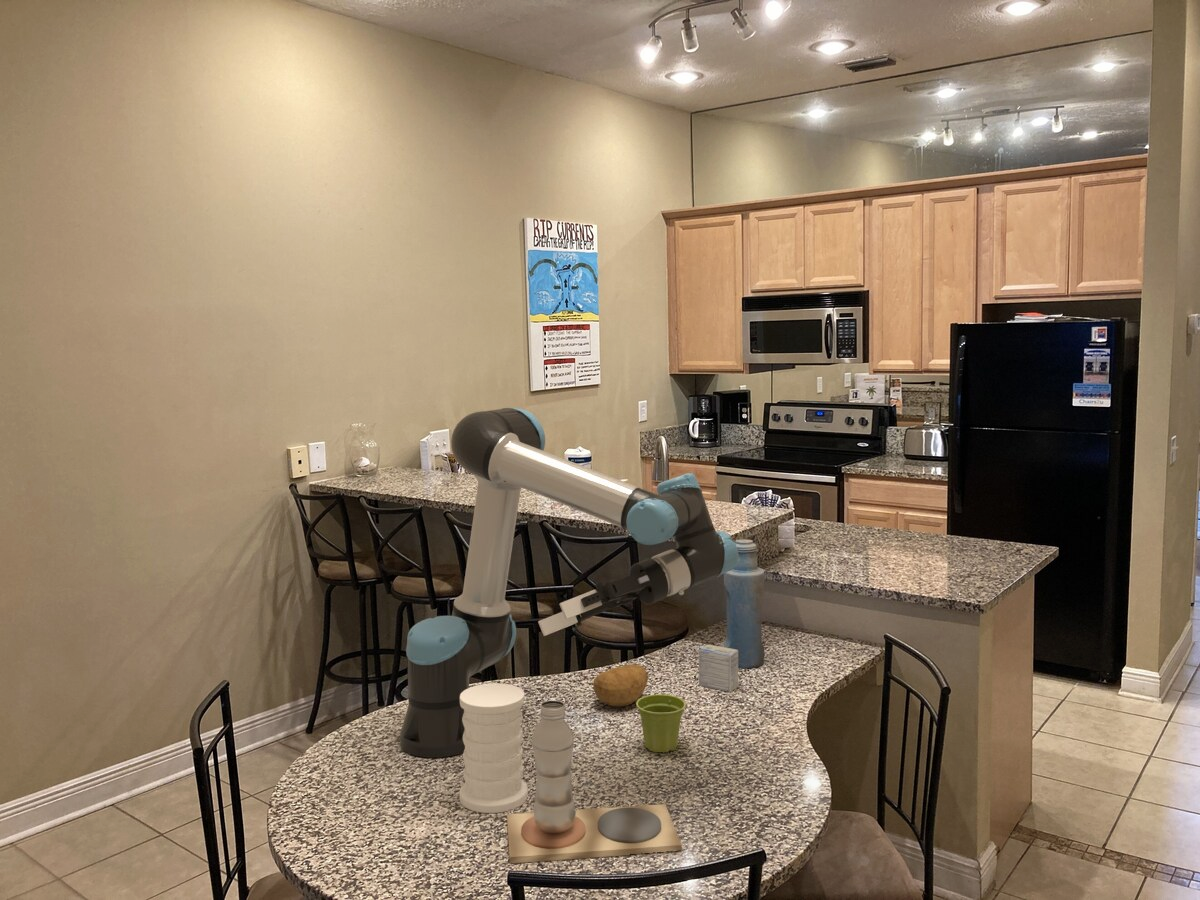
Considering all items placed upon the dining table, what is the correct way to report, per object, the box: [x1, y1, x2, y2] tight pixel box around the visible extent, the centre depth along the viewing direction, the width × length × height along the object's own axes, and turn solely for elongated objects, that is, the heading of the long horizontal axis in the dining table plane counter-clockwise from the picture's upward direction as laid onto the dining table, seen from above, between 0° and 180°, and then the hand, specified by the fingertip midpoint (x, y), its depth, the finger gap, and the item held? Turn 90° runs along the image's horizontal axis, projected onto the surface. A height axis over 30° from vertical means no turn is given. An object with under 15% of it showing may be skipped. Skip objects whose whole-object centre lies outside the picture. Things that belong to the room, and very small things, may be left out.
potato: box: [592, 663, 649, 707], centre depth 203 cm, size 10×14×8 cm
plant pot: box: [635, 693, 687, 754], centre depth 181 cm, size 9×9×9 cm
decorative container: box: [459, 682, 529, 814], centre depth 161 cm, size 12×12×18 cm
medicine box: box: [698, 644, 739, 693], centre depth 213 cm, size 8×4×9 cm, turn 58°
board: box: [506, 803, 683, 864], centre depth 149 cm, size 26×13×2 cm, turn 97°
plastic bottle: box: [531, 699, 577, 833], centre depth 146 cm, size 6×7×20 cm
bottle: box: [723, 539, 765, 669], centre depth 228 cm, size 10×10×30 cm
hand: (551, 620), depth 158 cm, fingers open, 13 cm apart
